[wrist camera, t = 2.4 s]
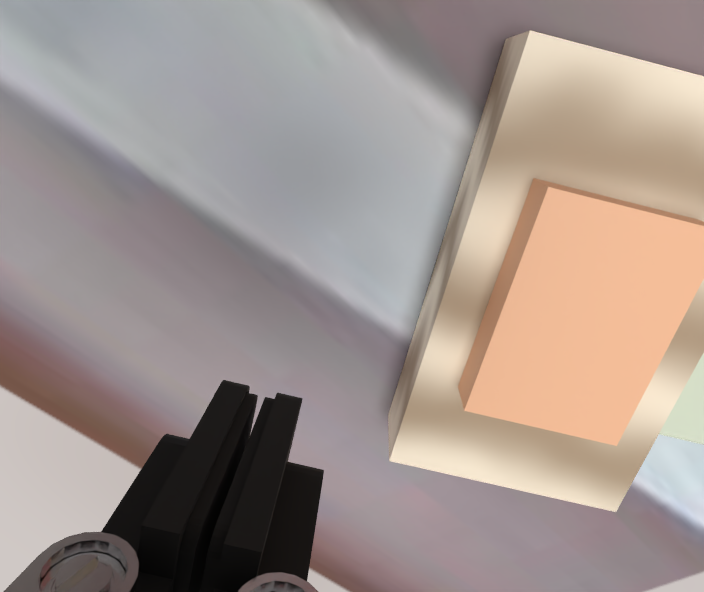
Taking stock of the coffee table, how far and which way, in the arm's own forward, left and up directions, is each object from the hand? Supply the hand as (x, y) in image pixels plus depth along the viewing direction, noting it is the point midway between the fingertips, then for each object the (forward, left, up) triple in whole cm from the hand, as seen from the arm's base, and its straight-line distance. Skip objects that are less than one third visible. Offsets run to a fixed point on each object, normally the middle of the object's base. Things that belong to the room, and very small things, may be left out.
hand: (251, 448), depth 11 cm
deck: (0, +12, -17) cm, 21 cm away
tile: (0, +11, -13) cm, 17 cm away
